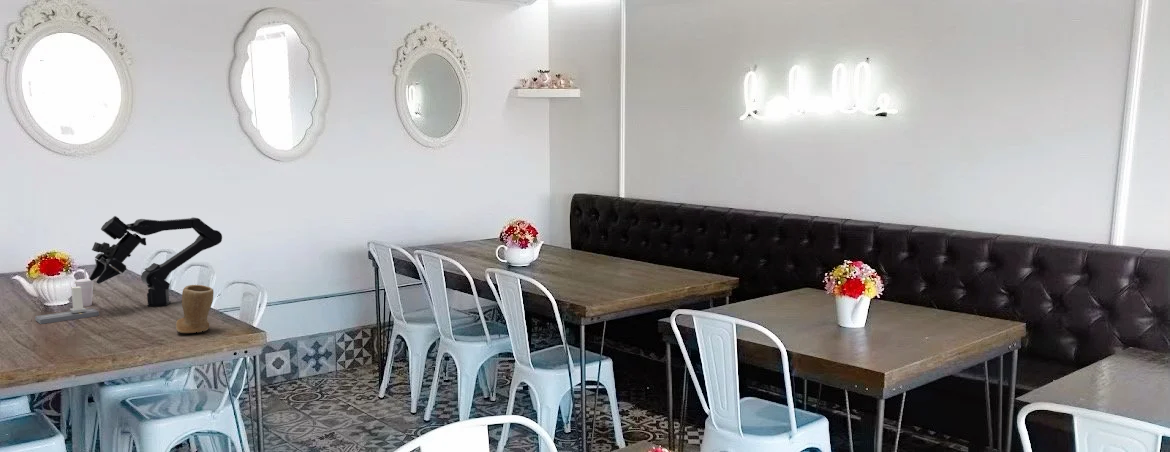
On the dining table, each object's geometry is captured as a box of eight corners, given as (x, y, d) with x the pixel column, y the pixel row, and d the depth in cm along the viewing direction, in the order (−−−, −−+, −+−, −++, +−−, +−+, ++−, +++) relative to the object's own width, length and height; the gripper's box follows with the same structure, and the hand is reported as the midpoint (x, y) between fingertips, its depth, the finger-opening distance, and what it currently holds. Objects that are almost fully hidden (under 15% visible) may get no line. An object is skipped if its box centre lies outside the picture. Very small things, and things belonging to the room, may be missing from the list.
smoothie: (89, 306, 321) (86, 270, 320) (72, 307, 321) (69, 270, 320) (99, 303, 328) (96, 267, 326) (82, 303, 328) (79, 267, 326)
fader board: (93, 312, 312) (92, 307, 312) (99, 315, 306) (98, 311, 306) (35, 320, 300) (35, 315, 299) (40, 324, 294) (40, 319, 294)
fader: (82, 309, 308) (80, 285, 307) (86, 311, 304) (84, 287, 303) (70, 310, 305) (68, 287, 304) (73, 313, 302) (71, 289, 301)
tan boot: (216, 333, 278) (213, 287, 276) (175, 337, 273) (172, 291, 271) (215, 323, 291) (212, 280, 289) (176, 327, 287) (173, 283, 285)
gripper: (99, 231, 316) (67, 264, 310) (113, 235, 302) (81, 270, 296) (124, 250, 322) (94, 283, 316) (139, 255, 309) (108, 289, 303)
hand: (93, 281), depth 308 cm, fingers open, 9 cm apart
